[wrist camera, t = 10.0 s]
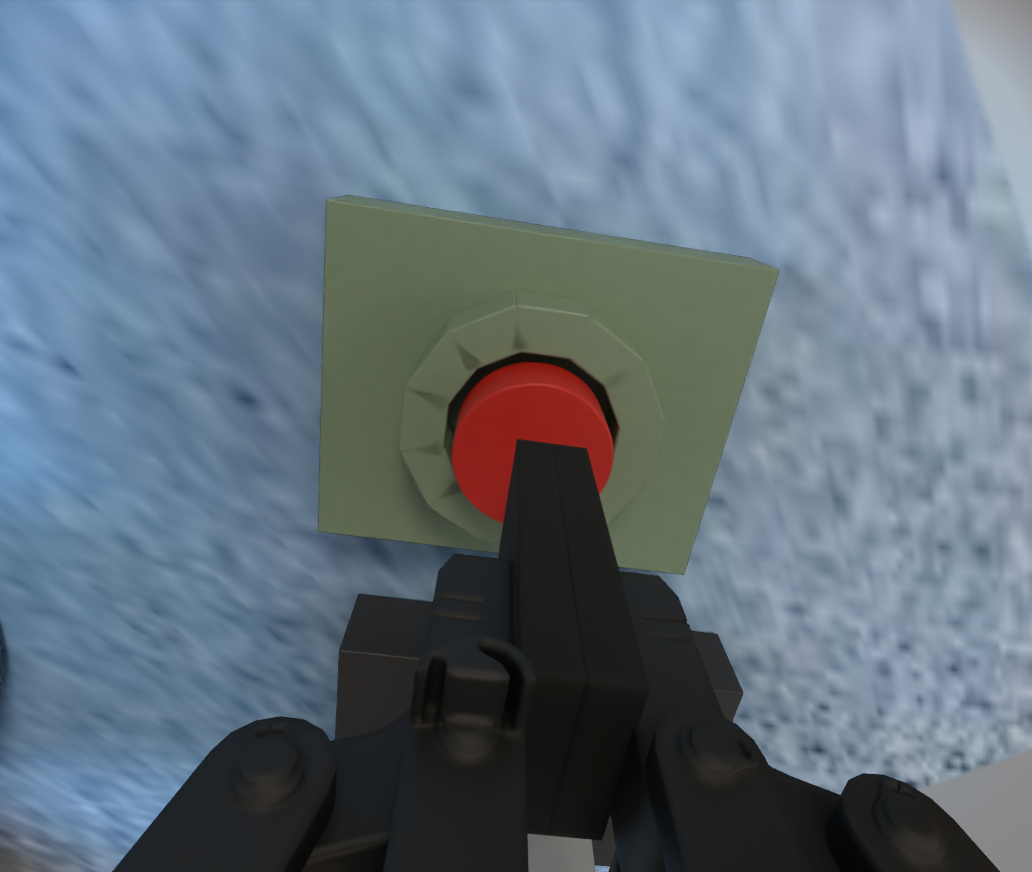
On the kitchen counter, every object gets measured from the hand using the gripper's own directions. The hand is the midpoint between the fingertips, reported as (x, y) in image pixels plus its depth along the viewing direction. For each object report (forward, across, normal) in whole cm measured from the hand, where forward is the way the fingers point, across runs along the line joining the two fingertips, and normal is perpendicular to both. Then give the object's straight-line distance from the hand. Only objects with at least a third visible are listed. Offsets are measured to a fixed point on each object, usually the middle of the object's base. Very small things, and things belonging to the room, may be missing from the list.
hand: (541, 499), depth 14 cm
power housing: (+7, 0, 0) cm, 7 cm away
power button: (+4, 0, 0) cm, 4 cm away
